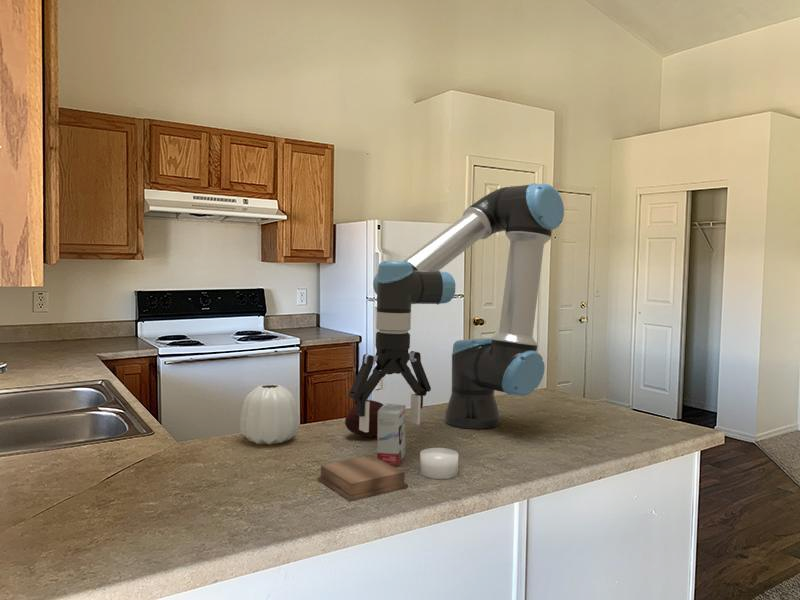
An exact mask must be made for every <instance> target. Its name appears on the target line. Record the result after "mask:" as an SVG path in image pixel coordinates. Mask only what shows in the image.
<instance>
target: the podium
mask: <svg viewBox="0 0 800 600" xmlns="http://www.w3.org/2000/svg"><path fill="white" fill-rule="evenodd" d="M405 474H406V473H405V471H404V470H401V469H400V468H397V466H392V465H390V464H388V463H386V462H384V461H382V460H380V459H378V458H377V456H376V457H375V456H373V455H368V456H363V457H357V458H352V459H347V460H343V461H341V460H340V461H337V462H331V463H327V464H322V465H321V466H320V476H317V481H319V482H320V483H322V484H323V485H324V486H326V487H328V488H329V489H331V490H332V491H334V492H335V493H337V494H339V496H341V497H343V498H345V500H347V501H349V502H354V501H357V500H361V499H365V498H369V497H373V496H377V495H381V494H382V495H383V494H386V493H390V492H394V491H398V490H402V489H406V488H408V487H409V484H408V483H407V482H405Z"/></svg>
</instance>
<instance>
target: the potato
mask: <svg viewBox="0 0 800 600" xmlns="http://www.w3.org/2000/svg"><path fill="white" fill-rule="evenodd" d="M366 401H368V402H370V404H369V432H363V431H361V430H359V417H360V416H358V415H357V403H355V404H354V405H353V406H352V407H351V408H350V410H349V411H347V414H346V416H345V419H344V420H345V421H344V425H345V427H346V428H347V430H348V431H349V432H351V433H352V434H353V435H356V436H358V437H361V438H362V437H363V438H372V437H376V436H377V430H378V410H379V409H380V408H381V407H382V406H383V405H384V404H383V403H382V402H379V401H376V400H371V399H367V400H366Z"/></svg>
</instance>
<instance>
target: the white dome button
mask: <svg viewBox="0 0 800 600" xmlns="http://www.w3.org/2000/svg"><path fill="white" fill-rule="evenodd" d="M419 474H421V476H423V477H424V478H425V477H426V478H427V479H428V478H430V479H436V480H446V479H452V478H455V477H457V476H458V474H459V452H458V451H456V450H454V449H451V448H446V447H445V448H444V447H431V448H430V447H429V448H425V449H422V450H421V451H420V452H419Z"/></svg>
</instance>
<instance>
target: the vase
mask: <svg viewBox="0 0 800 600" xmlns="http://www.w3.org/2000/svg"><path fill="white" fill-rule="evenodd" d="M240 412H241V413H240V420H239V428H240V432H241V433H242V435H243V436H244V437H245V438H246V439H247V440H248V441H249V442H250V443H255V444H257V445H273V444H282V443H283V442H287V441H289V440H291V439H292V437H294V436H295V435H296V433H297V432H298V430H299V426H300V416H299V410H298V406H297V402H296V399H295V396H294V395H293V393H292V392H291V391H290V390H289V389H287V388H286V387H284V386H282V385H280V384H276V383H275V384H274V383H267V384H261V385H258V386H257V387H255V388H253V389H252V390H251V391H250V392H249V393H248V394H247V395H246V396H245V399H244V401H243V403H242V407H241V411H240Z"/></svg>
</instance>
